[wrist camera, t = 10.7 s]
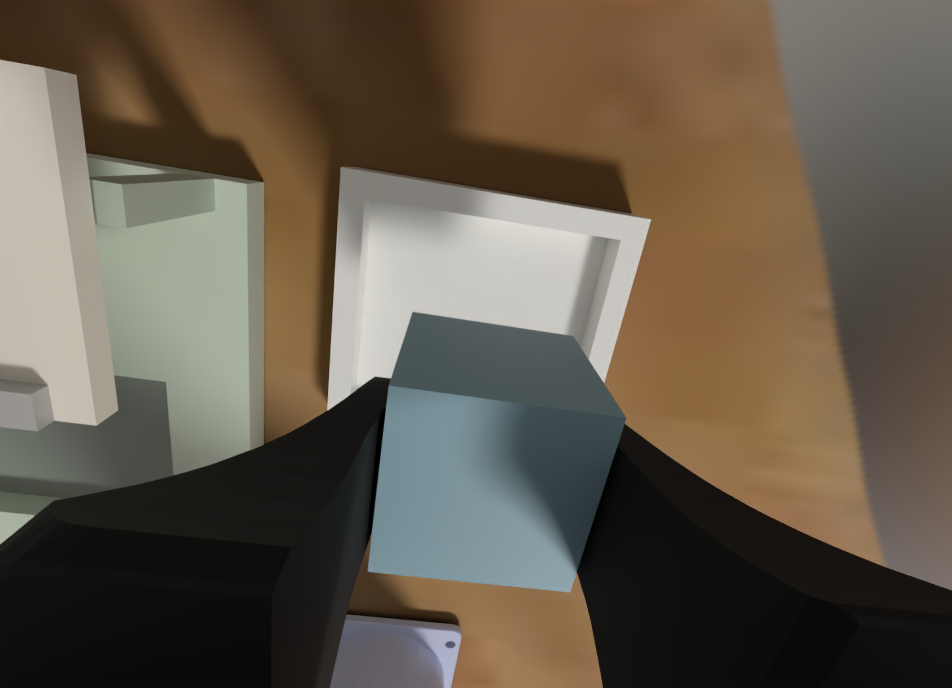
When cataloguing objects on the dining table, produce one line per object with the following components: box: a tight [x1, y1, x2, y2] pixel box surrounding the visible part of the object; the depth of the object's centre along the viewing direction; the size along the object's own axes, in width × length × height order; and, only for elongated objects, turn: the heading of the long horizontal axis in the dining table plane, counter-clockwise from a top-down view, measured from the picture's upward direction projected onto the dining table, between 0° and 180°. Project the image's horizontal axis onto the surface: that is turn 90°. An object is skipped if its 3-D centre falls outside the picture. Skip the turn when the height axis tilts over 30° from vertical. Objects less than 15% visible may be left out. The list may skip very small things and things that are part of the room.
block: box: [368, 312, 626, 592], centre depth 10 cm, size 4×4×4 cm
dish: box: [327, 167, 651, 411], centre depth 17 cm, size 10×10×2 cm
